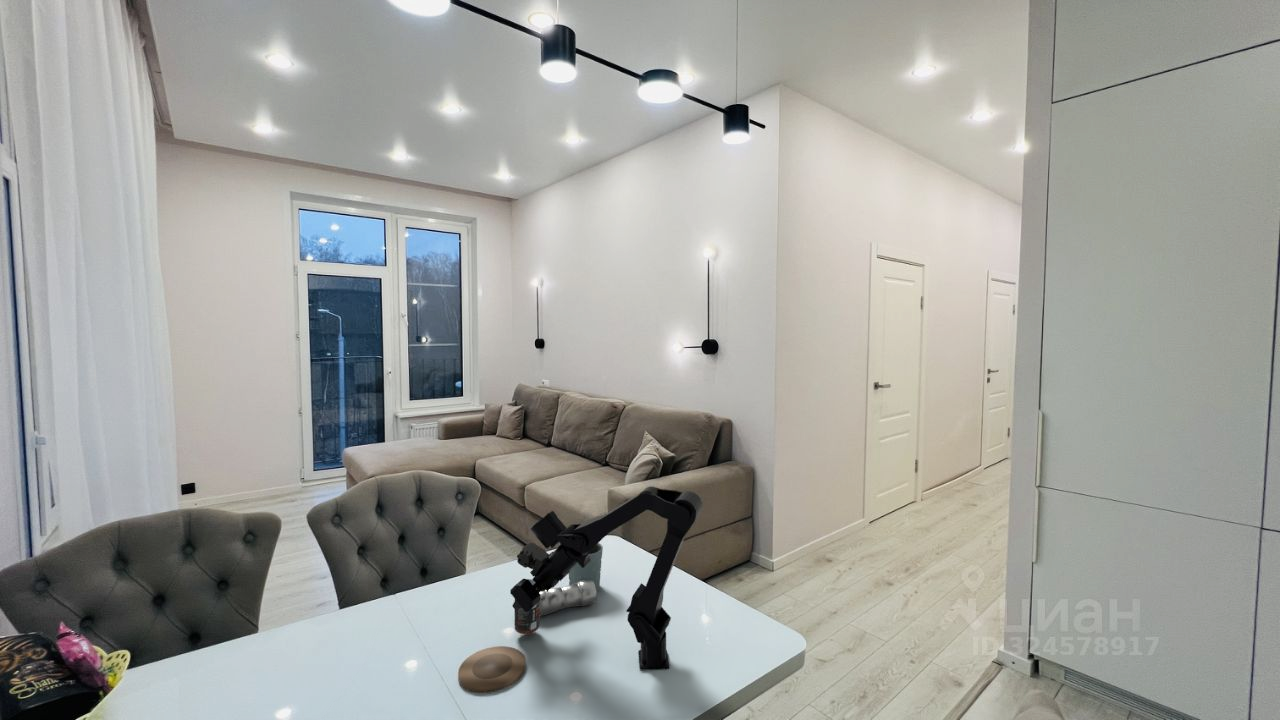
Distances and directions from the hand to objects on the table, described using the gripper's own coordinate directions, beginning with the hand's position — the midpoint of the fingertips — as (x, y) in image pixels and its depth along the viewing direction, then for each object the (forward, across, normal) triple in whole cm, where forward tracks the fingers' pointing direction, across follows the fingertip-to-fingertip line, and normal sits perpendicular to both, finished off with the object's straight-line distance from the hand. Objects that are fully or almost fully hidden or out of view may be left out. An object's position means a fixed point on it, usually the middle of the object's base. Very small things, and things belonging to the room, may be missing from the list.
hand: (521, 601), depth 124 cm
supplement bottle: (+4, 0, +6) cm, 7 cm away
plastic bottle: (-4, -20, +11) cm, 23 cm away
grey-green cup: (+2, -25, +9) cm, 27 cm away
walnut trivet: (+5, +14, +7) cm, 16 cm away
